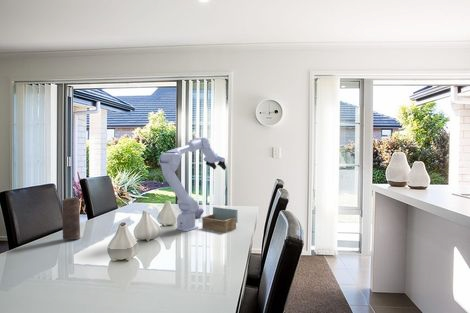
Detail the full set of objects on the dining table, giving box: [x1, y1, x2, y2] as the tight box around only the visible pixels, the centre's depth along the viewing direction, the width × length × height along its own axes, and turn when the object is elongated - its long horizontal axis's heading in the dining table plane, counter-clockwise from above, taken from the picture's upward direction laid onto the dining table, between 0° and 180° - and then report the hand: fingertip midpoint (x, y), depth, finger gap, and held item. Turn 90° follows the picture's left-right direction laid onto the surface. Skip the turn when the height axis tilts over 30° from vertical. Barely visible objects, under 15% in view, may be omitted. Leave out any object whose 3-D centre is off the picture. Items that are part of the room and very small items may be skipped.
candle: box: [61, 197, 81, 241], centre depth 147 cm, size 8×7×20 cm
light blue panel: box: [212, 206, 239, 224], centre depth 171 cm, size 1×16×7 cm, turn 56°
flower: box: [195, 205, 205, 219], centre depth 192 cm, size 9×9×10 cm
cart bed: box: [201, 213, 237, 233], centre depth 166 cm, size 9×16×6 cm, turn 56°
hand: (220, 168), depth 188 cm, fingers open, 7 cm apart
